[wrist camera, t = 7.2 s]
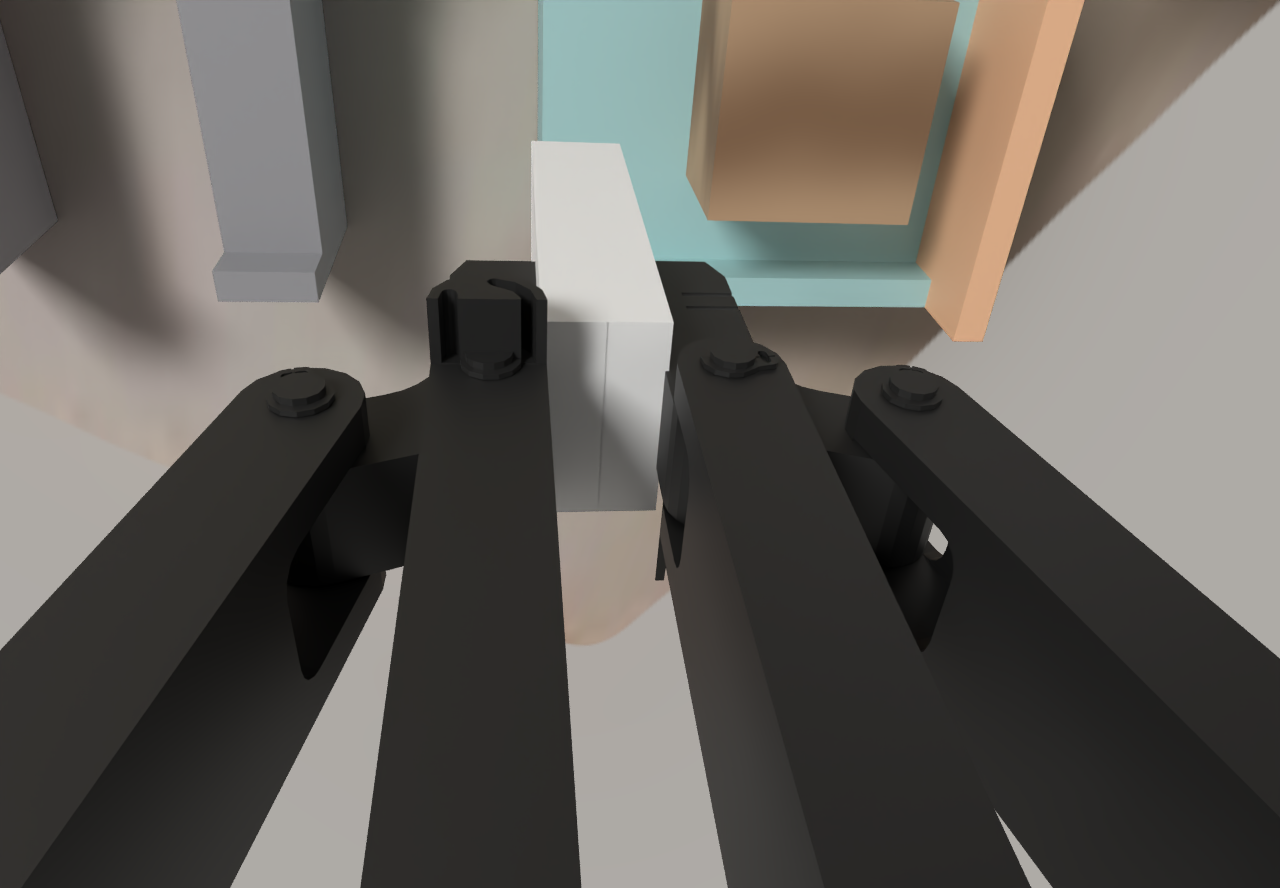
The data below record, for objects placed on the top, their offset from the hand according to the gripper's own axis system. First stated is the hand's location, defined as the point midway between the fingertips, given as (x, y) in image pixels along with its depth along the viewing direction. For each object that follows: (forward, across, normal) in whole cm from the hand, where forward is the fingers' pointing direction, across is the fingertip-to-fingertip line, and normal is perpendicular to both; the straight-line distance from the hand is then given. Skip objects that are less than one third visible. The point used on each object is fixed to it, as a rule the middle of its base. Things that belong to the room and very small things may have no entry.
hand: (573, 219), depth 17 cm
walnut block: (+14, +7, -1) cm, 15 cm away
